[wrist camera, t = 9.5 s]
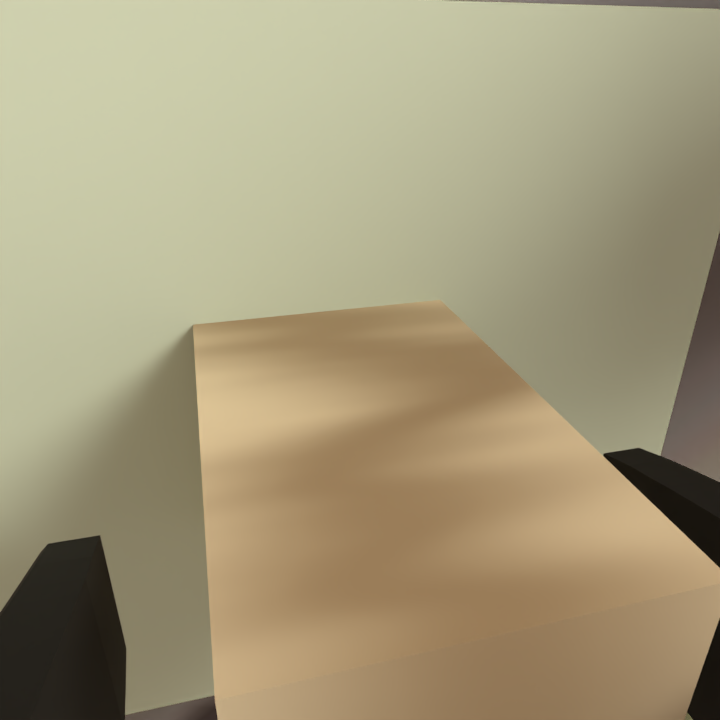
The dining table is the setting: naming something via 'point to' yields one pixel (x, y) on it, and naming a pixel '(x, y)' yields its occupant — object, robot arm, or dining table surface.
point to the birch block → (427, 535)
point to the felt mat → (323, 236)
